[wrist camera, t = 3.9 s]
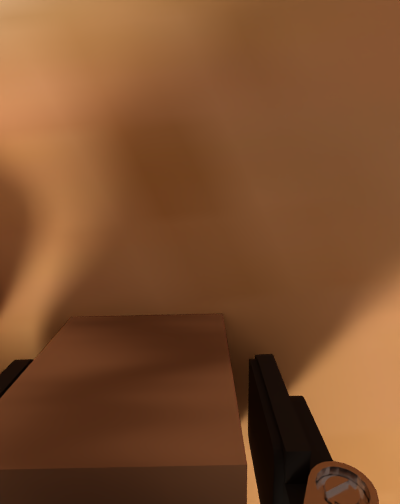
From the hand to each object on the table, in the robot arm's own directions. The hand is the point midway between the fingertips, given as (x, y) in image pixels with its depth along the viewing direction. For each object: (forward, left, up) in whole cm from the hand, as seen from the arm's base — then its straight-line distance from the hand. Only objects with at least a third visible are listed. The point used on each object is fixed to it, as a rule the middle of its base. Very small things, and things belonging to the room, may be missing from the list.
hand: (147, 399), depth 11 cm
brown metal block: (0, 0, -1) cm, 1 cm away
